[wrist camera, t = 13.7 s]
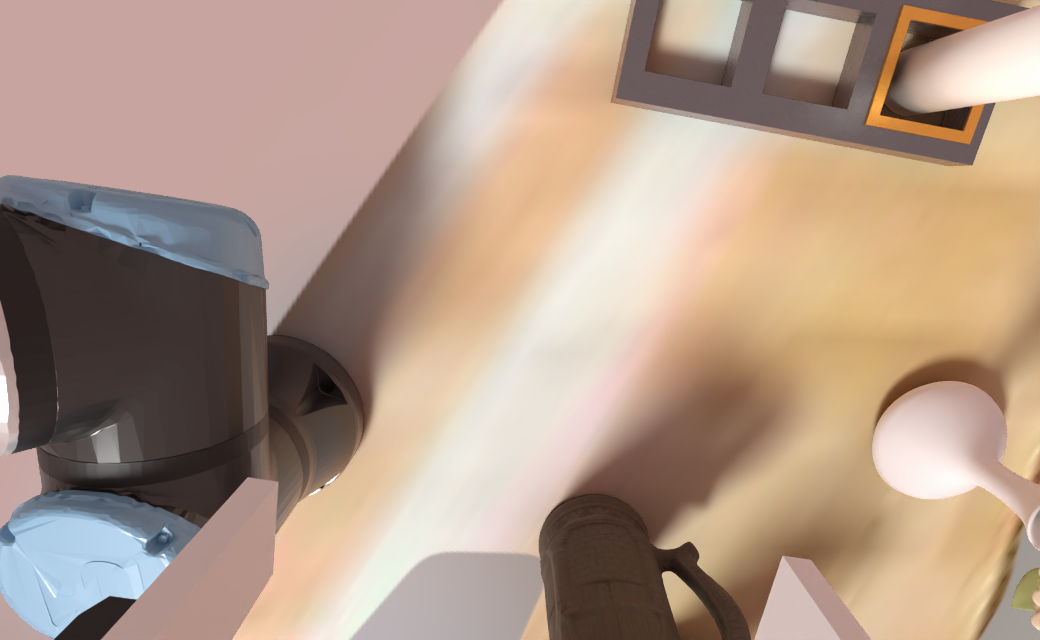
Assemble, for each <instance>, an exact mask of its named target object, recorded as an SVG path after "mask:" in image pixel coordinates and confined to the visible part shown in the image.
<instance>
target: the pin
mask: <svg viewBox="0 0 1040 640" xmlns="http://www.w3.org/2000/svg"><path fill="white" fill-rule="evenodd" d="M1038 95H1040V5H1039V6H1036V7H1033V8H1030V9H1027V10H1024V11H1021V12H1018V13H1015V14H1012V15H1009V16H1006V17H1003V18H1000V19H997V20H994V21H991V22H988V23H985V24H982V25H979V26H976V27H973V28H970V29H967V30H964V31H961V32H958V33H955V34H952V35H949V36H946V37H943V38H940V39H937V40H934V41H931V42H928V43H925V44H922V45H919V46H916V47H913V48H910V49H907V50H905V51H903V52H901V53H900V54H899V57H898V60H897V63H896V66H895V69H894V73H893V76H892V79H891V82H890V85H889V88H888V91H887V94H886V97H885V100H884V103H885V105H886V106H887V107H888V108H889V109H890V110H891V111H892V112H894V113H896V114H898V115H902V116H912V115H918V114H925V113H931V112H937V111H944V110H950V109H956V108H962V107H969V106H975V105H981V104H988V103H994V102H1000V101H1006V100H1013V99H1019V98H1025V97H1032V96H1038Z"/></svg>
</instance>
